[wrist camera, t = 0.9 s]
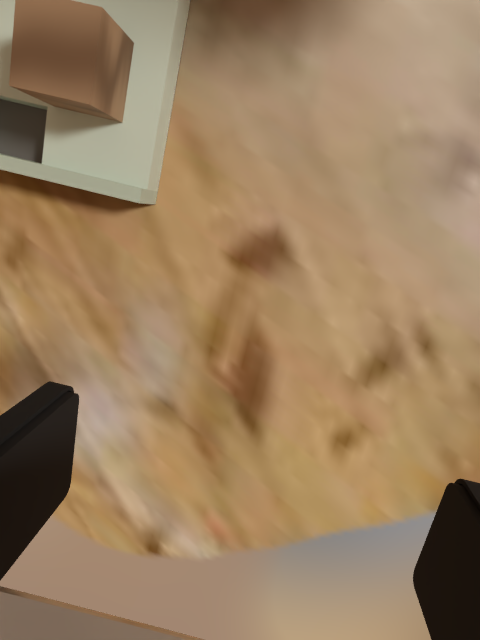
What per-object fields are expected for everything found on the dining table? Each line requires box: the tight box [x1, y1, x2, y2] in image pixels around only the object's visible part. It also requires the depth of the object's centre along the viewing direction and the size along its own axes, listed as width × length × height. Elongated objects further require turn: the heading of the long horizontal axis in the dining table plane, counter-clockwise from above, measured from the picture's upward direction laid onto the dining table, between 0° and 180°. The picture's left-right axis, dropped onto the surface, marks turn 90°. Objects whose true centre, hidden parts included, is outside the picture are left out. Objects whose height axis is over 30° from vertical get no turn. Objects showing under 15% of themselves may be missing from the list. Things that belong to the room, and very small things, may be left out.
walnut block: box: [9, 0, 134, 123], centre depth 26 cm, size 5×5×5 cm
